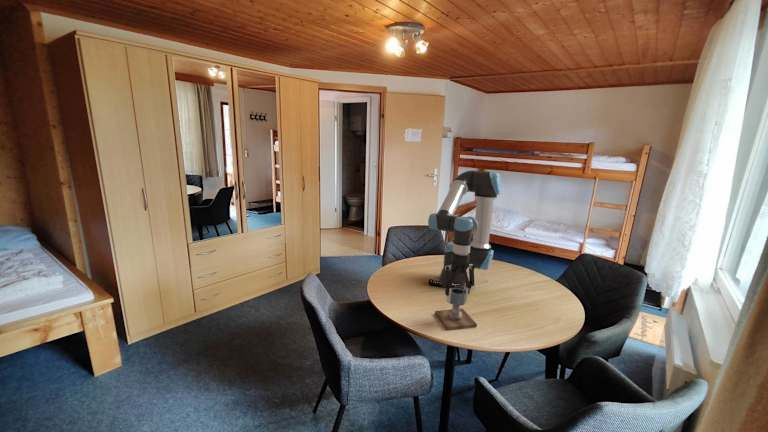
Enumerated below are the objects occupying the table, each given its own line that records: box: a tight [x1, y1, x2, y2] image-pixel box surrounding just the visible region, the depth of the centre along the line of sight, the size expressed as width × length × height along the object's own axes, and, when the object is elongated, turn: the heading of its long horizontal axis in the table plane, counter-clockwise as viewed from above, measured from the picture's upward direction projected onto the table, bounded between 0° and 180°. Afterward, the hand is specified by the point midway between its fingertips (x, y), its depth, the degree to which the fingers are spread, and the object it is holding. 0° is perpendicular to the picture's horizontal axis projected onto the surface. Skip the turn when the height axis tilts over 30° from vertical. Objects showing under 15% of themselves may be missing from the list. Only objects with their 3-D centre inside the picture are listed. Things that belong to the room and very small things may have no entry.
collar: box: [449, 287, 467, 307], centre depth 147 cm, size 7×7×5 cm
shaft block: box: [434, 304, 478, 331], centre depth 148 cm, size 14×14×12 cm
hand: (456, 300), depth 147 cm, fingers closed on collar, 7 cm apart
